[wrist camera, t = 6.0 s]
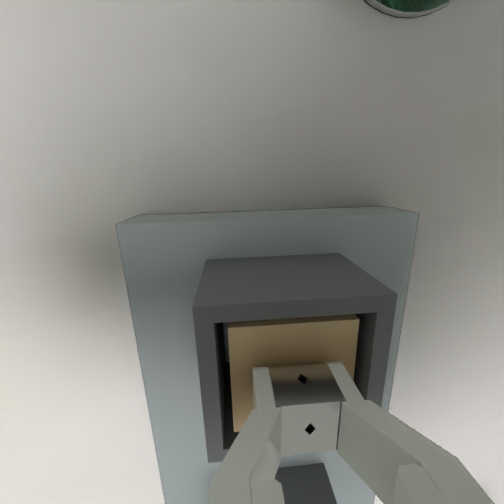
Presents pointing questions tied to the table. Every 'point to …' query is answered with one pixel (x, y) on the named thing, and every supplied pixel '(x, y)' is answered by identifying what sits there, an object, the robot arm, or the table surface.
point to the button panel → (257, 308)
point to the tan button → (285, 350)
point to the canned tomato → (408, 7)
